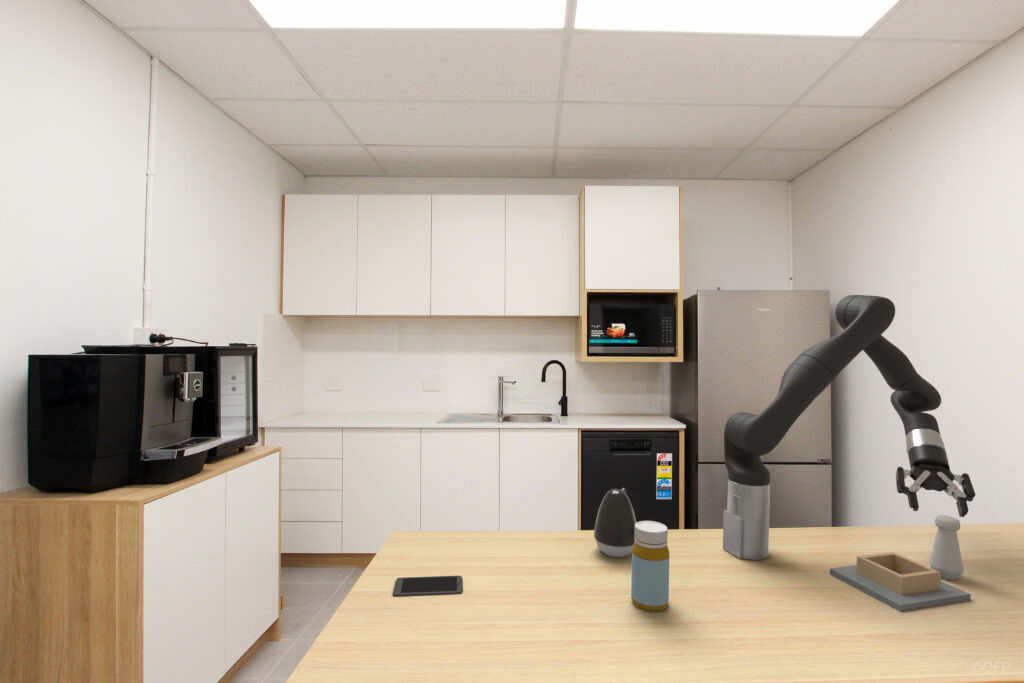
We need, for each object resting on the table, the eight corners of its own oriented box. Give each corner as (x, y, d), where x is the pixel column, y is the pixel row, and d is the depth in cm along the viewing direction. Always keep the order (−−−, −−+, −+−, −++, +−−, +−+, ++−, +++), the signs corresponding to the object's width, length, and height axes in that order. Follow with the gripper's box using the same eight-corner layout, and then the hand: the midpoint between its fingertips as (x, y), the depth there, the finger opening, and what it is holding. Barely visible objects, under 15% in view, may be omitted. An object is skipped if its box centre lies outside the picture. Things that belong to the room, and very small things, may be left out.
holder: (900, 611, 101) (900, 586, 101) (829, 573, 116) (830, 552, 116) (970, 600, 106) (971, 576, 105) (893, 565, 121) (894, 544, 121)
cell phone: (396, 580, 111) (396, 577, 111) (462, 578, 113) (462, 575, 113) (391, 598, 104) (392, 595, 104) (463, 596, 106) (463, 592, 106)
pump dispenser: (643, 550, 128) (645, 487, 127) (628, 566, 119) (629, 498, 119) (604, 540, 133) (605, 480, 133) (586, 555, 124) (587, 490, 124)
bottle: (669, 597, 105) (670, 522, 105) (667, 615, 98) (668, 535, 98) (633, 591, 107) (634, 518, 107) (629, 608, 101) (630, 530, 100)
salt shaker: (969, 584, 112) (971, 523, 112) (938, 581, 113) (940, 520, 113) (952, 571, 118) (954, 513, 118) (923, 569, 119) (925, 511, 119)
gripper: (894, 440, 131) (904, 499, 121) (967, 446, 125) (984, 509, 115) (888, 457, 136) (898, 515, 126) (958, 463, 130) (974, 525, 120)
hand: (939, 512), depth 121 cm, fingers open, 8 cm apart
